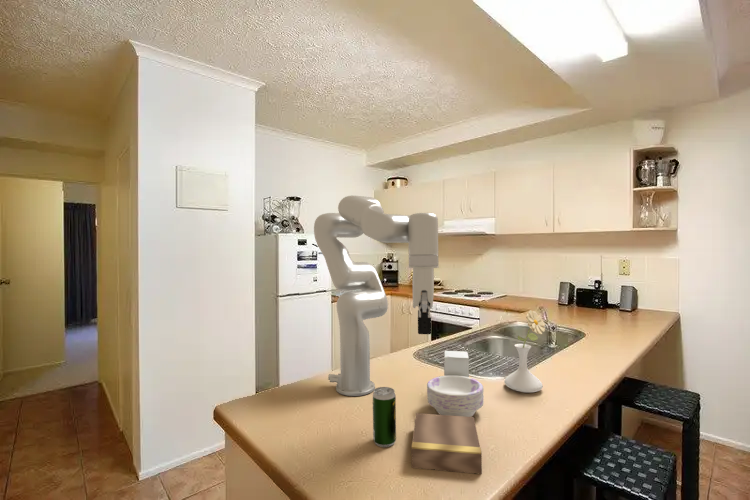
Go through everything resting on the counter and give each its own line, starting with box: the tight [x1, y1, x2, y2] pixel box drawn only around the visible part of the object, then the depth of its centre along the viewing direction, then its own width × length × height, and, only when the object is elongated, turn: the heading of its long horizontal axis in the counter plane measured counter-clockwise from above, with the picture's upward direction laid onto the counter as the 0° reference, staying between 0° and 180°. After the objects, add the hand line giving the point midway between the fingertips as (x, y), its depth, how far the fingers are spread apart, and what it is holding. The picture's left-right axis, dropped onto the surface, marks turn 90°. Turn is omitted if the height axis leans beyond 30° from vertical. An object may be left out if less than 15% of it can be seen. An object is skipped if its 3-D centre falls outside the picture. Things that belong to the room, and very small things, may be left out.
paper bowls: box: [426, 375, 485, 417], centre depth 99 cm, size 15×15×8 cm
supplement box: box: [443, 350, 470, 378], centre depth 111 cm, size 7×7×13 cm
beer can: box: [372, 386, 397, 448], centre depth 84 cm, size 5×5×12 cm
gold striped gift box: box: [411, 412, 483, 475], centre depth 81 cm, size 14×16×4 cm
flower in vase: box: [504, 309, 546, 393], centre depth 115 cm, size 13×11×25 cm
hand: (424, 329), depth 91 cm, fingers open, 9 cm apart
